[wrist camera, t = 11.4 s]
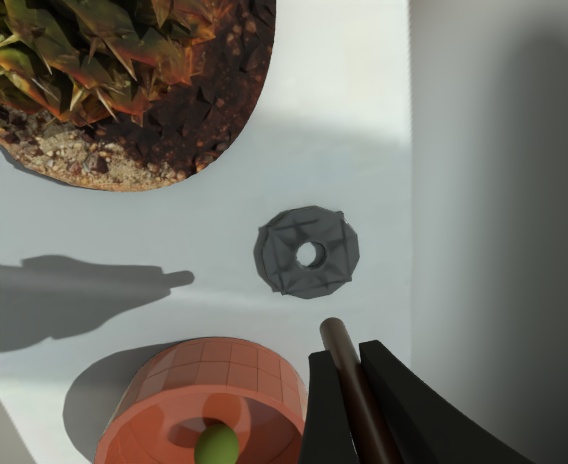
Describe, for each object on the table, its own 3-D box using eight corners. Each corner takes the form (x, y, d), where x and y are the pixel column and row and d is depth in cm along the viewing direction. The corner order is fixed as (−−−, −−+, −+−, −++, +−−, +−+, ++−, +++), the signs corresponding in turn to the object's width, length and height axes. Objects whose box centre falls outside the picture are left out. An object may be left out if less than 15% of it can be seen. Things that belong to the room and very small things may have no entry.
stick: (345, 334, 12) (434, 546, 6) (321, 339, 12) (385, 556, 6) (342, 314, 12) (433, 515, 6) (317, 319, 12) (381, 527, 6)
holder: (360, 284, 19) (363, 288, 19) (273, 302, 19) (273, 306, 19) (350, 198, 17) (353, 200, 17) (254, 217, 17) (253, 220, 17)
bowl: (319, 455, 24) (331, 515, 20) (158, 489, 24) (139, 557, 20) (291, 318, 20) (298, 362, 16) (94, 359, 20) (54, 414, 16)
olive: (234, 491, 19) (222, 468, 18) (194, 482, 20) (178, 460, 19) (249, 440, 22) (239, 417, 20) (212, 435, 23) (200, 412, 21)
